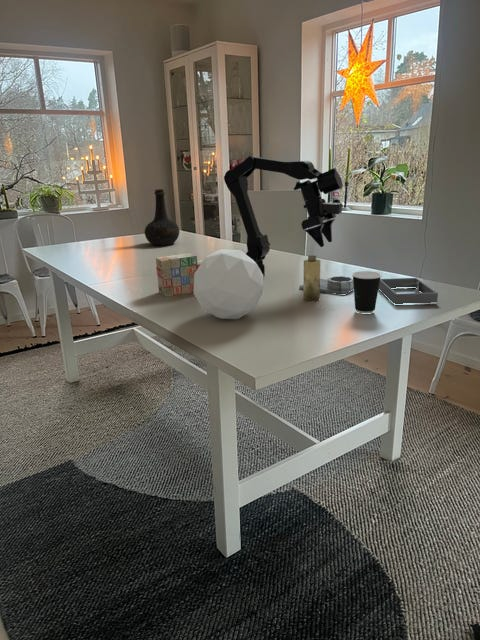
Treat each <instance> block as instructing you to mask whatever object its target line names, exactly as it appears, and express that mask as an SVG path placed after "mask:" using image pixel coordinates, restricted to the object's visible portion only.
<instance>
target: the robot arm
mask: <svg viewBox="0 0 480 640" xmlns="http://www.w3.org/2000/svg"><path fill="white" fill-rule="evenodd" d="M255 170H260V171H261V170H262V171H269V172H275V173H280V174H285V175H287V176H288V177H291V178H293V179H295V180H296V179H297V180H299V181H296V184H295V186H294V187H293V190H294V191H297V190H300V192H301V196H302V199H303V201H304V205H303V208H304V209H306V211H307V217H306V219H304V220H302V222H301V229H302V230H304V231H305V233H307V234H308V235H309V236H310V237H311V238H312V239H313V240H314V241H315V242H316V244H318V245H319V247H320V248H322V247H324V246H325V243H324V238H325V240H326V241H327V242H328V243H331V242H333V237H332V236H333V231H332V230H333V229H332V228H333V227H332V226H333V223H334V222H335V221H336V218H337V215H340V214H342V213H343V207H344V205H343V202H341V199H338V198H337V199H336V198H335V199H333V201H332V202H327V201H326V199H325V198H322V194H321V193H323V194H324V195H328V194H330V193H333V192H336V191H339V190H341V189H343V181H342V177H341V176H340V174H339V172H338V171H337V168H336V167H334V168H333V167H332V168H331V169H329V170H327V171H324V172H321V171H319V170H318V169H317V168H316V167H315V165H314V164H313V162H311V161H309V160H299V161H298V160H296V161H295V160H294V161H286V160H285V161H284V160H280V159H273V158H267V157H260V156H256V155H250V156H248V157H247V158H245V159H244V160H243V161H242V162H240V163H239V164H238V165H236V166H235V167H233V168H232V169H229V170H227V171H226V172H225V174H224V176H223V180H224V183H225V185H226V187H227V189H228V191H229V192H230V193H231V194H232V195H233V197H234V199H235V202H236V206H237V209H238V211H239V214H240V217H241V221H242V225H243V227H244V231H245V233H246V248H247V252H246V253H245V254H246V255H247V256H249V257H250V258H251V259H252V260H254V261H255V263H256V264H257V265H258V267H259V268H260V270H261V272H262V274H263V280H264V279H265V278H264V277H265V274H266V273H265V269H266V267H265V264H264V261H263V260H265V259H266V255H268V254H269V252H270V246H271V243H270V242H269V238H268V234H264V235H263V233H262V232H261V230H260V228H259V225H258V222H257V218H256V215H255V212H254V210H253V207H252V203H251V199H250V197H249V194H248V189H249V188H248V187H249V183H248V178H249V177H250V176H251V175H252V174H253V173H254V171H255ZM315 179H316V180H315ZM301 180H302V182H300V181H301ZM303 180H305V181H303ZM311 180H314V181H311ZM323 236H324V237H323Z"/></svg>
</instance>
